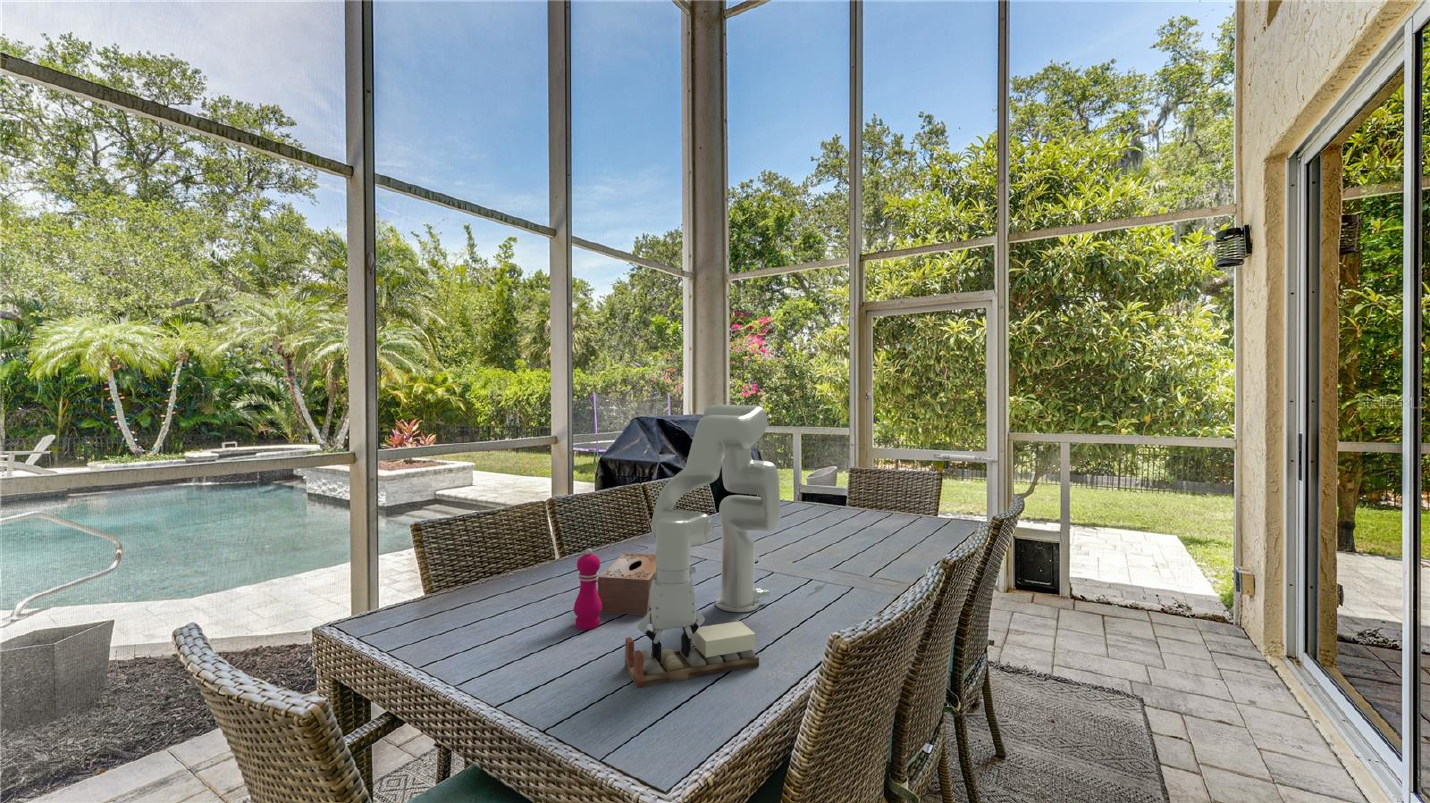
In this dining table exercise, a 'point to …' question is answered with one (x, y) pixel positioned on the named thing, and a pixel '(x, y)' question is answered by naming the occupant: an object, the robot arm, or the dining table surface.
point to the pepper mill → (588, 592)
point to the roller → (670, 661)
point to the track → (696, 665)
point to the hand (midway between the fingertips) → (671, 656)
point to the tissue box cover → (627, 584)
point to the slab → (724, 639)
